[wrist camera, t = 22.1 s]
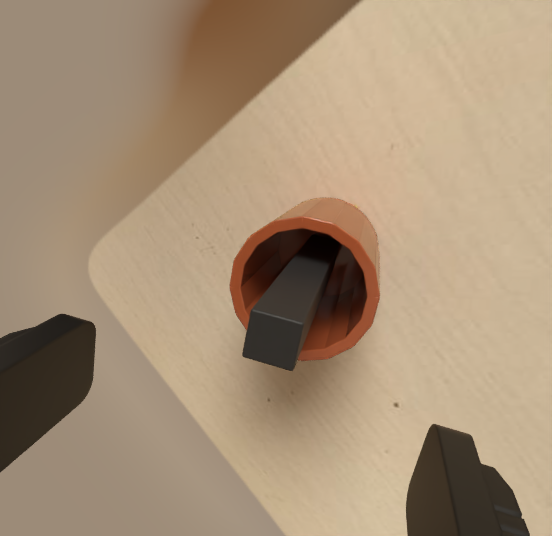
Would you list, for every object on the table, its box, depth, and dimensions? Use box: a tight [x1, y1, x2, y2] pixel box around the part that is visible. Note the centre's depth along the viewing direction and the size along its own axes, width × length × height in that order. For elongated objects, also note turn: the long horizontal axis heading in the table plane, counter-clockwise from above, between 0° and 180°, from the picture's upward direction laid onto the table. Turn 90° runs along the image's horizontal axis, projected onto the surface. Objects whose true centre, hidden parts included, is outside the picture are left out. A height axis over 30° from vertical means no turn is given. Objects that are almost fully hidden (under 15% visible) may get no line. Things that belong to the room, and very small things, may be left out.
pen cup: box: [230, 198, 380, 361], centre depth 22 cm, size 6×6×8 cm
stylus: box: [242, 233, 340, 371], centre depth 19 cm, size 2×2×13 cm
